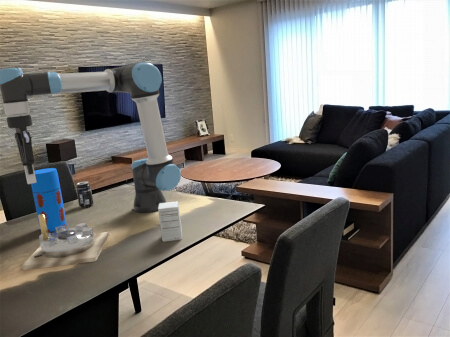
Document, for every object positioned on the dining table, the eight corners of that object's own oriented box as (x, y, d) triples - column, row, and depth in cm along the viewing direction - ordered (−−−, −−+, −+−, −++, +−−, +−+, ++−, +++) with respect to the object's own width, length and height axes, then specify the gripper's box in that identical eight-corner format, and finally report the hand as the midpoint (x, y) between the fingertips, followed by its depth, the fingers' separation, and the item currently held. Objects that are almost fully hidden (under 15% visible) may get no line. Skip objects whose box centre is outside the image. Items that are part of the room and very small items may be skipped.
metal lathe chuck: (85, 233, 163) (79, 199, 160) (101, 245, 149) (95, 208, 146) (37, 247, 154) (29, 211, 151) (48, 262, 139) (40, 222, 136)
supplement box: (163, 234, 159) (158, 202, 156) (182, 232, 160) (178, 200, 157) (161, 242, 152) (157, 208, 149) (182, 239, 152) (178, 206, 150)
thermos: (57, 232, 174) (46, 173, 168) (34, 232, 176) (23, 174, 171) (71, 223, 184) (61, 167, 179) (50, 223, 186) (39, 168, 181)
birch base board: (109, 235, 164) (108, 231, 164) (96, 261, 141) (95, 256, 140) (46, 242, 163) (46, 238, 162) (22, 270, 139) (21, 265, 139)
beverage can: (78, 205, 210) (74, 182, 208) (92, 203, 213) (88, 180, 211) (80, 209, 204) (76, 185, 202) (94, 206, 207) (90, 182, 204)
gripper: (35, 114, 139) (48, 183, 144) (25, 113, 149) (38, 178, 154) (10, 117, 134) (25, 188, 139) (2, 116, 144) (16, 182, 149)
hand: (32, 182), depth 146 cm, fingers closed
